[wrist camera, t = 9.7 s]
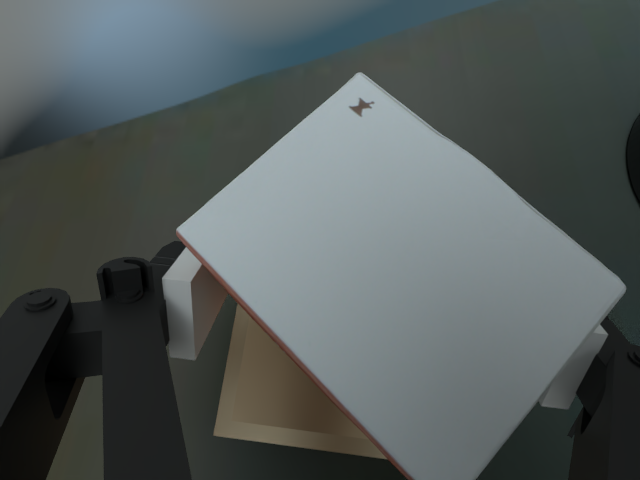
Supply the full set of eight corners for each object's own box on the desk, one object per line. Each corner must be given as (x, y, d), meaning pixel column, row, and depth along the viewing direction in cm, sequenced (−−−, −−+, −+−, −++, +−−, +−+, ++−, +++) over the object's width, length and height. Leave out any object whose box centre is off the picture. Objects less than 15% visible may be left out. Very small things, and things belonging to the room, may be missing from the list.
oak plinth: (444, 252, 27) (467, 231, 23) (437, 453, 24) (462, 470, 20) (263, 230, 28) (254, 205, 24) (229, 425, 24) (211, 436, 20)
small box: (251, 314, 21) (163, 225, 9) (336, 232, 23) (360, 60, 11) (366, 436, 20) (452, 529, 7) (451, 338, 21) (640, 279, 9)
